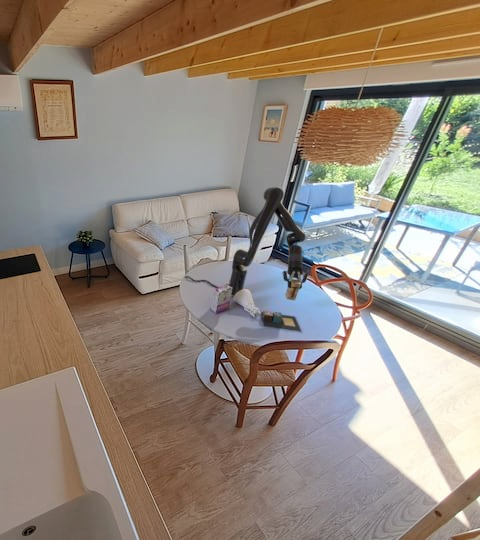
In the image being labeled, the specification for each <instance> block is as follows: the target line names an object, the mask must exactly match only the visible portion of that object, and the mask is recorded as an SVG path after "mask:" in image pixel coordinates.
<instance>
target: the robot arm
mask: <svg viewBox="0 0 480 540" xmlns="http://www.w3.org/2000/svg"><path fill="white" fill-rule="evenodd" d="M284 195H285V192H284V190H283V188H281V187H277V186H276V187H275V186H274V187H273V186H272V187H269V188H266V189H265V190H264V191H263V199H264V201H265V203H264V206H263V207H262V209H261V211H260V212H258V214H257V215H256V216H255V218H254V219H253V221H252V223H251V225H250V227H249V229H248V237H249V247H248V250H247V251H246V250H244V249H240V248H239V249H237V250H236V251H235V253H234V255H233V259H232V264H231V275H230V279H229V282H228V283H226V284H225V285H229V286H231V287H232V288H233V289H232V294H231V298H234V295H235V294H236V293H237V292H239V291H240V290H243V289H244V286H245V282H246V278H247V274H248V269H247V267H250V266H251V264H252V263H253V261H254V259H255V256H256V253H257V251H258V248H259V246H260V244H261V241H262V239H263V237H264V236H265V234H266V231H267V229H268V227H269V225H270V223H271V220H272V218H273V216H274V214H275V216H276V217H277V219H278V221H279V222H280V223H279V224H280V225H281V226H282V229H283V230H284V231H285V232H287V235H286V237H285V239H286V240H285V241H286V244H287V248H288V257H287V258H288V259H287V270H283V271H282V273H281V274H282V277H283V281H284V282H287V288H288V287H289V288H291V280H292V279H296V280H299V281H300V283H301V285H300V288H299V290H301V289H302V288H303V284H304V283H306V282H307V278H308V275H309V273H307V272H306V273H305V272H304V271H303V261H304V260H303V248H302V246H301V245H298V244H299V243H303V242H305V240H306V239H307V235H306V233H305V232H304V230H303V229H302V228H300V226H299V225H298V224H297V223H296V221H295V219H294V218H293V216H292V214H291V213H290V212H289V210H287V208H285V206H284V204H283V203H282V201H283V199H284ZM288 275H289V276H288ZM184 278H188V279H189V280H191V281H192V282H206V283H207V284H209V285H211V286H212V287H214V288H215V289H216V288H219V287H220V286H217V285H215V284H214V283H211V282H210V281H209V280H207V279H199V280H197V279H196V280H195V279H193V278H191V277H190V276H189V275H187V276H184Z"/></svg>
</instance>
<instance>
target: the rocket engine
mask: <svg viewBox="0 0 480 540" xmlns="http://www.w3.org/2000/svg"><path fill="white" fill-rule="evenodd" d="M232 299H233V301H234V302H235V303H237V304H238V305H240V306H241V307H243V310H244V311H245V312H247V313H249V314H250V315H251V316H252V318H256V316H258V315H261V314H262V313H261V312H262V311H260V308H259V307H257V306H255V302H254V299H253V295H252V293H251V291H250V289H248V288H243V290H240V291H239V292H237V293H236V294H235V295H234V297H232Z"/></svg>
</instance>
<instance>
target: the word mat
mask: <svg viewBox="0 0 480 540" xmlns="http://www.w3.org/2000/svg"><path fill="white" fill-rule="evenodd" d="M260 312H261V313H262V314H263V312H262V311H260ZM262 314H260V316H261V320H262V323H263V327H266V328H267V327H268V328H273V329H281V330H288V331H292V332H293V331H295V332H302V330H301V327H300V326H299V323H298V321H297V318H296V317H295V316H291V315H285V314H282V316H283V319H282V322H281V323H276V322H273V321H272V320H271V322H269V321H263V318H262Z"/></svg>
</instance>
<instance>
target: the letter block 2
mask: <svg viewBox="0 0 480 540" xmlns="http://www.w3.org/2000/svg"><path fill="white" fill-rule="evenodd" d="M272 315H273V317H272V321H273V322H276V323H281V322H282V319H283V316H282V315H283V314H282V312H278V311H272Z"/></svg>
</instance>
